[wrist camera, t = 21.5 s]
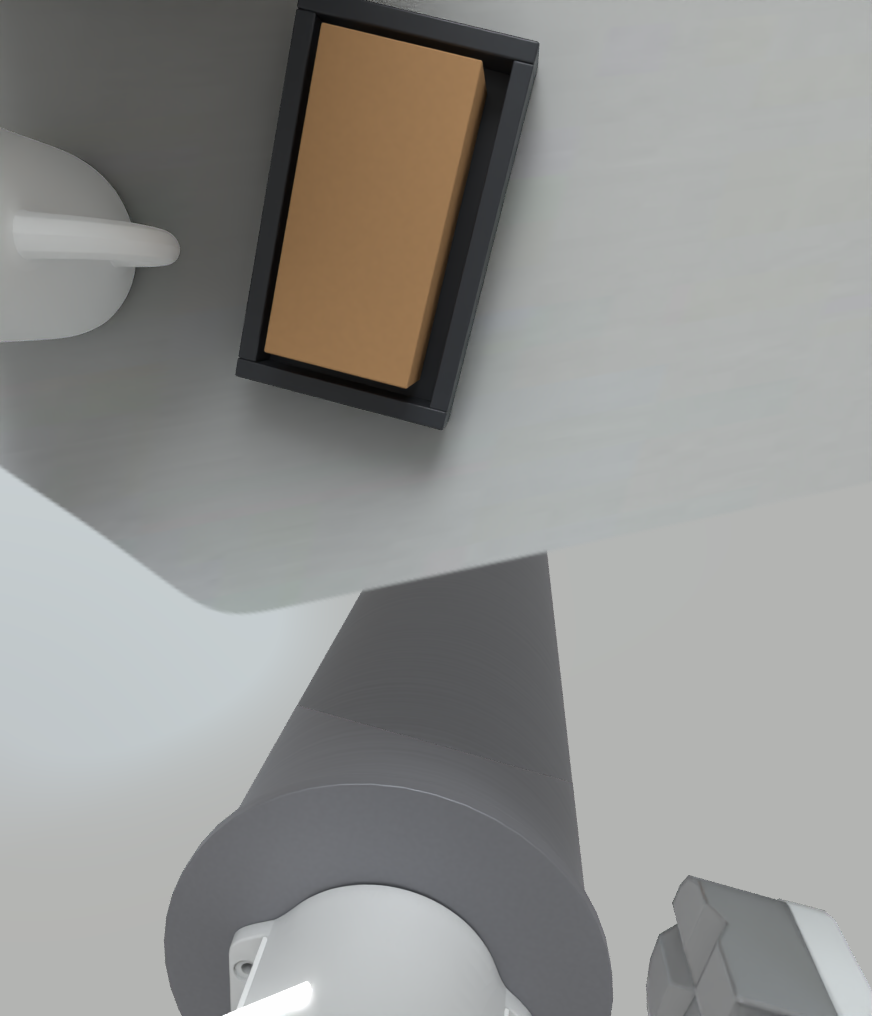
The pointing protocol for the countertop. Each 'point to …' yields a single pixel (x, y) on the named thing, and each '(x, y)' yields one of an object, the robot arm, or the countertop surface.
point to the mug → (65, 243)
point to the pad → (374, 204)
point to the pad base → (484, 193)
